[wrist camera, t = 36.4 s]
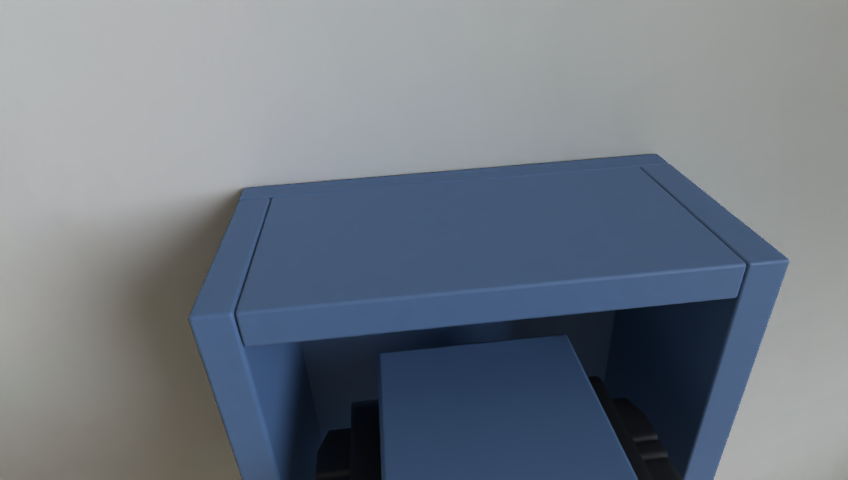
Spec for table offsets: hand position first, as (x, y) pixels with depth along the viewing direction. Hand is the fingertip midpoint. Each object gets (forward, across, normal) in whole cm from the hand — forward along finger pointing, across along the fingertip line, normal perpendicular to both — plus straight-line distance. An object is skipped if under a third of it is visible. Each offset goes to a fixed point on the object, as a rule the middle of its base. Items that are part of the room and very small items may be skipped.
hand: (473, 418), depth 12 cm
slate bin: (+3, 0, 0) cm, 3 cm away
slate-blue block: (0, 0, 0) cm, 0 cm away
